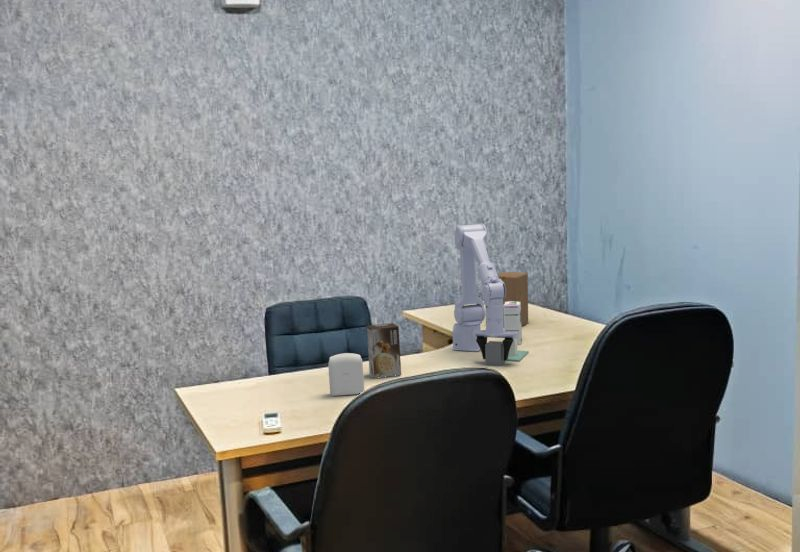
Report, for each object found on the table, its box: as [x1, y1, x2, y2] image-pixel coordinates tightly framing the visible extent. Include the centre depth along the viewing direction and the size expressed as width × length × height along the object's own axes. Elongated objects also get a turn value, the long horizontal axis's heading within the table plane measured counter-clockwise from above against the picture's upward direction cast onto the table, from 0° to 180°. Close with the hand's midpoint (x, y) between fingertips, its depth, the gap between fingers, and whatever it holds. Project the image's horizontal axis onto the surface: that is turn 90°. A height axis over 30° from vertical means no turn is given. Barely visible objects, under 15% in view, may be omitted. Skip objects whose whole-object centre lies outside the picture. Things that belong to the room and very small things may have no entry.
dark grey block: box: [484, 340, 506, 367], centre depth 308 cm, size 5×5×7 cm
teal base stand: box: [505, 339, 530, 363], centre depth 316 cm, size 8×12×6 cm, turn 158°
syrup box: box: [503, 301, 523, 345], centre depth 335 cm, size 6×6×14 cm
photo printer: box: [327, 352, 365, 397], centre depth 280 cm, size 10×4×12 cm, turn 96°
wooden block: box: [497, 271, 529, 327], centre depth 362 cm, size 10×10×20 cm
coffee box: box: [366, 322, 402, 379], centre depth 298 cm, size 9×6×16 cm
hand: (495, 359), depth 308 cm, fingers open, 6 cm apart
